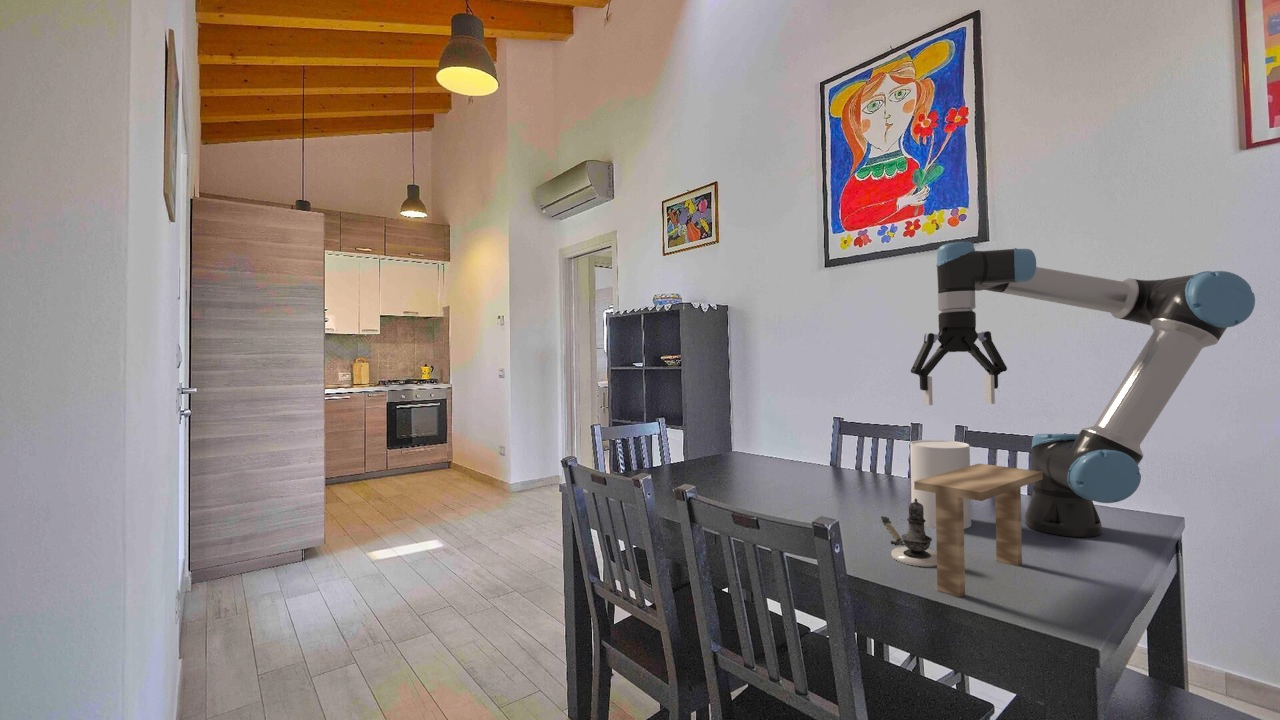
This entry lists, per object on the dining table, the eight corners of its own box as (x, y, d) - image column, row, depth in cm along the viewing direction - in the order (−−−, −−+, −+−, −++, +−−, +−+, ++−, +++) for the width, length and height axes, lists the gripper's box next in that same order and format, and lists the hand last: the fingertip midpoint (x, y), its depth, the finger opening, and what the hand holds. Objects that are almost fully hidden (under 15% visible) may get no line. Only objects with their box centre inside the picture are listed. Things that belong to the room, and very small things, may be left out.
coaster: (931, 550, 129) (931, 546, 129) (952, 566, 119) (952, 563, 119) (884, 550, 130) (884, 546, 130) (901, 566, 120) (901, 563, 120)
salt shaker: (896, 550, 128) (895, 495, 127) (922, 549, 128) (921, 494, 128) (911, 560, 122) (910, 502, 122) (938, 558, 122) (937, 501, 122)
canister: (917, 528, 146) (915, 447, 146) (907, 513, 159) (906, 439, 159) (977, 531, 142) (976, 448, 142) (963, 515, 155) (961, 440, 155)
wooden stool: (916, 583, 111) (914, 481, 111) (980, 553, 127) (978, 463, 127) (983, 604, 102) (981, 492, 102) (1044, 569, 117) (1042, 471, 117)
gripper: (1004, 310, 137) (1006, 401, 137) (894, 314, 139) (897, 403, 139) (1023, 308, 130) (1025, 404, 130) (906, 312, 131) (909, 406, 132)
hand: (959, 404), depth 134 cm, fingers open, 13 cm apart
